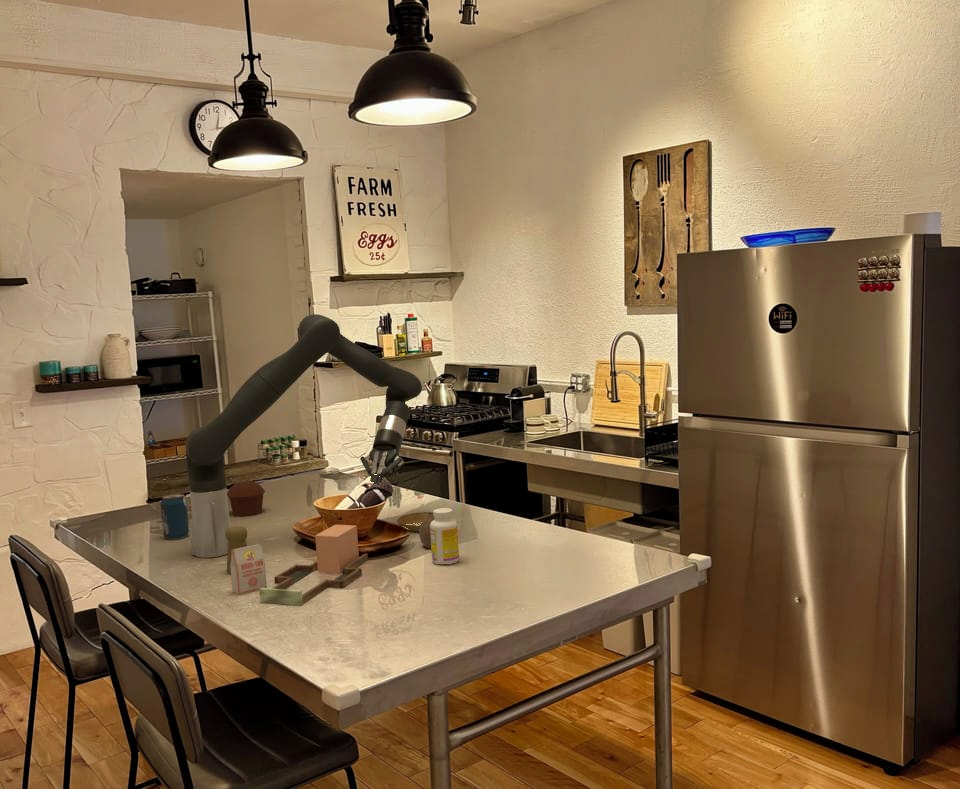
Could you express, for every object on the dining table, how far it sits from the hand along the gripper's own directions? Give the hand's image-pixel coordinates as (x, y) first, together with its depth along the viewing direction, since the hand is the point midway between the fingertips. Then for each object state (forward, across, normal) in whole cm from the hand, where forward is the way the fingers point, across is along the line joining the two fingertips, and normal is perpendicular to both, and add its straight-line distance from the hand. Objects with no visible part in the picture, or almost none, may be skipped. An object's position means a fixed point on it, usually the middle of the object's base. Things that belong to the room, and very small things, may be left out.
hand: (373, 488), depth 231 cm
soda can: (+14, -60, +6) cm, 62 cm away
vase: (+12, +17, +9) cm, 22 cm away
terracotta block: (+26, 0, -5) cm, 26 cm away
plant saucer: (-1, +7, +22) cm, 23 cm away
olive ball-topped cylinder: (+31, -23, -11) cm, 40 cm away
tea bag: (+40, -12, -19) cm, 46 cm away
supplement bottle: (+20, +25, +1) cm, 32 cm away
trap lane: (+33, 0, -12) cm, 35 cm away
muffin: (-5, -55, +26) cm, 61 cm away
